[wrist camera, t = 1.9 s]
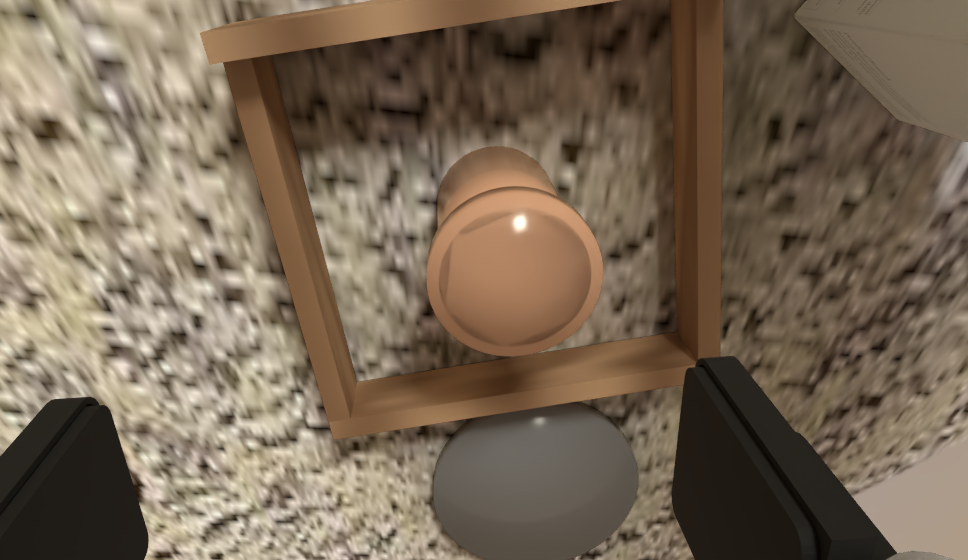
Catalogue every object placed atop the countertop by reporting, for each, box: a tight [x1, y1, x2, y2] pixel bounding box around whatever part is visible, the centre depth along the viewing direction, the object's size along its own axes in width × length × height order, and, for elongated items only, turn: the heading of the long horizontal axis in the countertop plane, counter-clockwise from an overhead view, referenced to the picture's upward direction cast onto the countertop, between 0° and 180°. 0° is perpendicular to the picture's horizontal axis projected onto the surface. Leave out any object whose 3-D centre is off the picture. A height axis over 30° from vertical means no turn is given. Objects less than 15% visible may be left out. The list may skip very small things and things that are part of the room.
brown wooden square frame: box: [200, 0, 724, 440], centre depth 28 cm, size 18×18×4 cm
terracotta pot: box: [427, 146, 603, 356], centre depth 27 cm, size 6×6×8 cm
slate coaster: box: [433, 402, 638, 560], centre depth 37 cm, size 11×11×1 cm
